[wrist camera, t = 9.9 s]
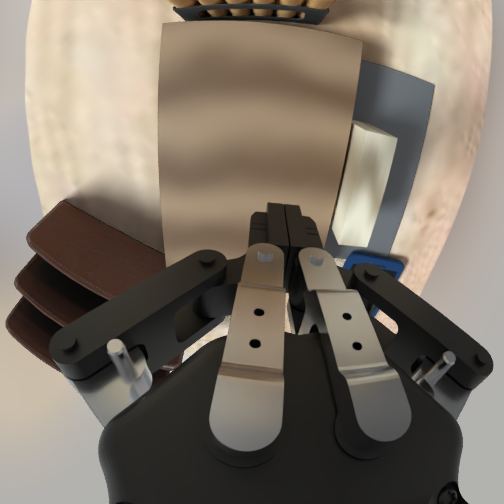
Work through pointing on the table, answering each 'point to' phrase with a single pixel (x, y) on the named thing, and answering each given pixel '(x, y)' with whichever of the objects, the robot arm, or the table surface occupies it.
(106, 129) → the table surface
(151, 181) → the table surface
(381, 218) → the mat
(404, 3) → the table surface
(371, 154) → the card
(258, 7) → the ammunition clip
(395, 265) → the cell phone
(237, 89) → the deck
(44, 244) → the letter holder
